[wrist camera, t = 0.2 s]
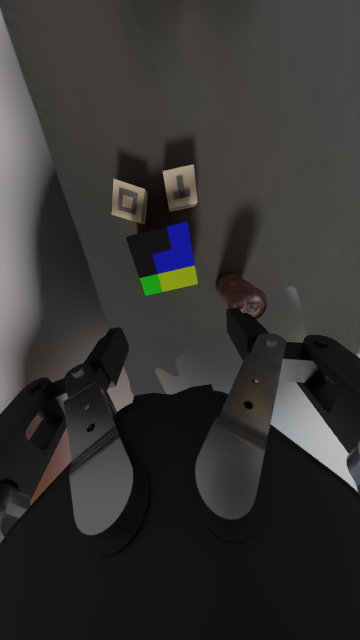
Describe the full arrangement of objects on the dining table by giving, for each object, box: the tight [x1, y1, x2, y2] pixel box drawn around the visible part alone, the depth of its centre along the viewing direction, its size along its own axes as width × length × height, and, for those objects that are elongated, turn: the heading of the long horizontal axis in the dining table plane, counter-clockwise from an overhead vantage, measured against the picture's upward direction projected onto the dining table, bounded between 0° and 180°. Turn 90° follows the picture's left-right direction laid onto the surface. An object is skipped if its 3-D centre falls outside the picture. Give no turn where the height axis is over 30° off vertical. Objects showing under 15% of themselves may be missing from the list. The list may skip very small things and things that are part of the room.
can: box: [216, 273, 267, 319], centre depth 34 cm, size 6×6×14 cm
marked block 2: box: [163, 164, 197, 212], centre depth 28 cm, size 5×5×5 cm
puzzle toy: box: [126, 222, 198, 295], centre depth 32 cm, size 10×10×10 cm
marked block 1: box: [112, 179, 149, 224], centre depth 29 cm, size 5×5×5 cm
